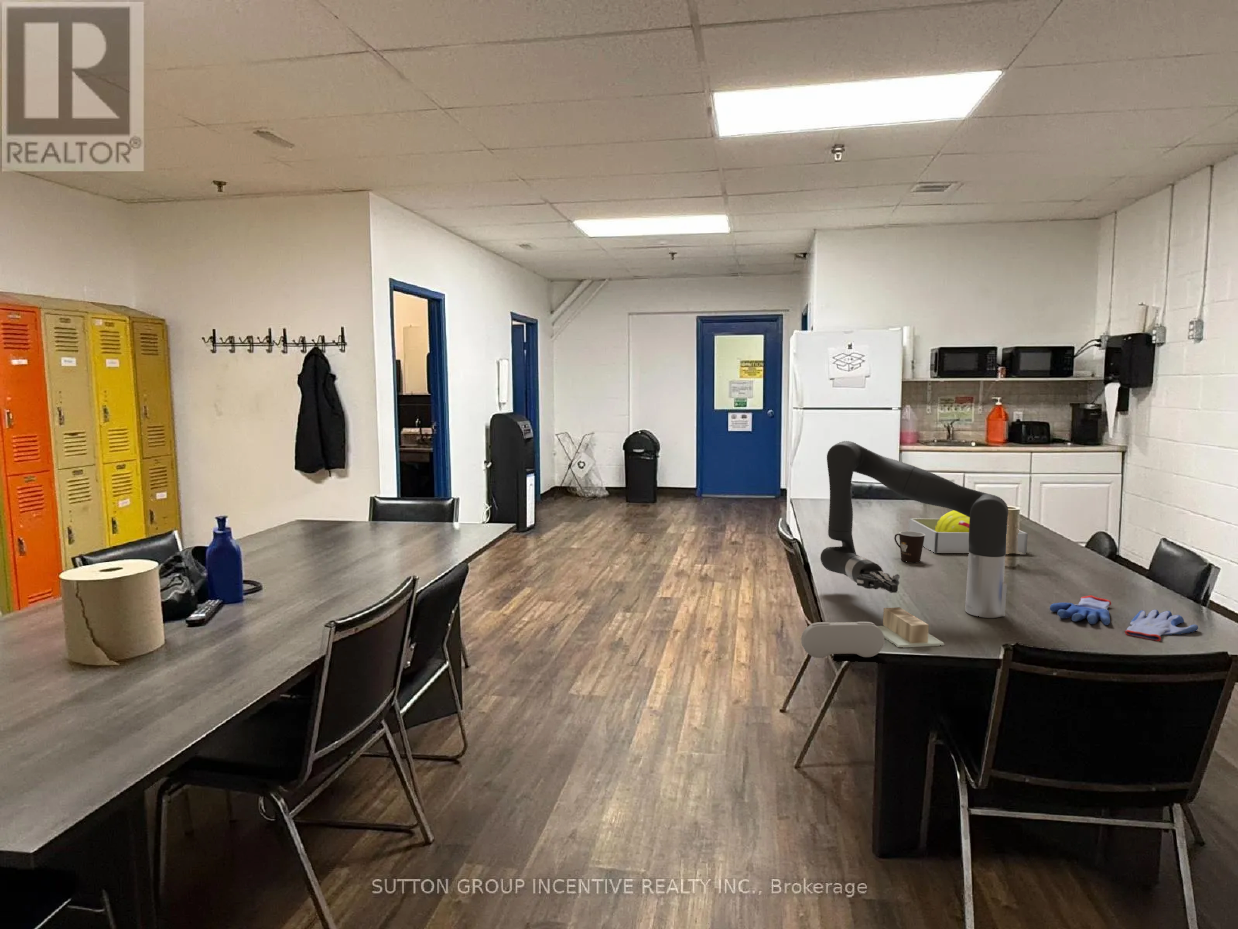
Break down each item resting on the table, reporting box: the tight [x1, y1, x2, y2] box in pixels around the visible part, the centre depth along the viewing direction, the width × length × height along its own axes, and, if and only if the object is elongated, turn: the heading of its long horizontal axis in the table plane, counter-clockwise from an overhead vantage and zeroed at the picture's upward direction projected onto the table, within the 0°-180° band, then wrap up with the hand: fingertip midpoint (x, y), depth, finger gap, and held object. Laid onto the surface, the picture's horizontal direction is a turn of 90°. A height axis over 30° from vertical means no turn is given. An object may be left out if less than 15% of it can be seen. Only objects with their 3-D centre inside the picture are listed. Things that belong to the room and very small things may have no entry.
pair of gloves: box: [1049, 594, 1199, 642], centre depth 201 cm, size 32×26×4 cm
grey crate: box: [907, 517, 1029, 554], centre depth 291 cm, size 34×28×8 cm
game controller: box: [800, 621, 885, 659], centre depth 176 cm, size 20×2×8 cm, turn 92°
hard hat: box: [934, 510, 970, 532], centre depth 288 cm, size 20×26×15 cm
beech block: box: [882, 607, 930, 643], centre depth 189 cm, size 4×4×14 cm
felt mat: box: [876, 625, 945, 648], centre depth 189 cm, size 14×12×1 cm
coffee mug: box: [894, 530, 925, 563], centre depth 268 cm, size 12×9×10 cm
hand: (894, 589), depth 194 cm, fingers closed
